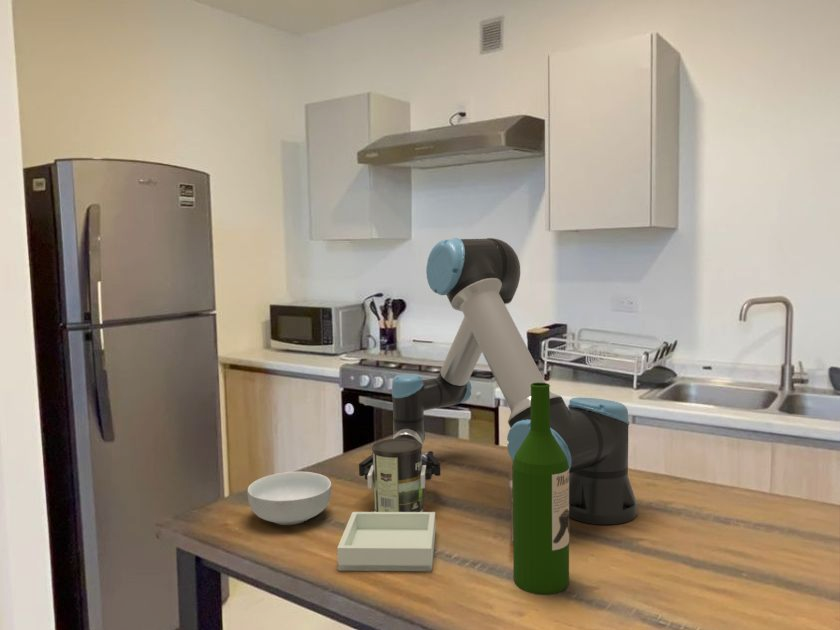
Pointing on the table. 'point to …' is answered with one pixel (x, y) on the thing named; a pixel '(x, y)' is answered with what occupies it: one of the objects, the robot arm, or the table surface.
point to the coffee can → (397, 475)
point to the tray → (387, 542)
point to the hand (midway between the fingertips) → (395, 481)
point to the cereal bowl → (289, 496)
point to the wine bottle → (540, 504)
